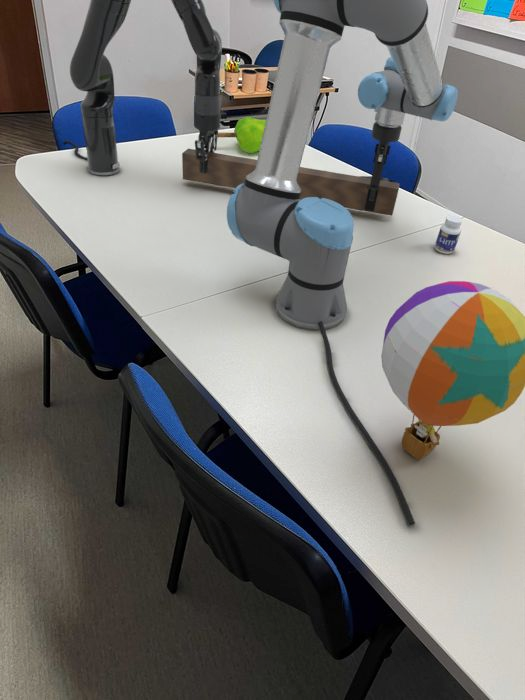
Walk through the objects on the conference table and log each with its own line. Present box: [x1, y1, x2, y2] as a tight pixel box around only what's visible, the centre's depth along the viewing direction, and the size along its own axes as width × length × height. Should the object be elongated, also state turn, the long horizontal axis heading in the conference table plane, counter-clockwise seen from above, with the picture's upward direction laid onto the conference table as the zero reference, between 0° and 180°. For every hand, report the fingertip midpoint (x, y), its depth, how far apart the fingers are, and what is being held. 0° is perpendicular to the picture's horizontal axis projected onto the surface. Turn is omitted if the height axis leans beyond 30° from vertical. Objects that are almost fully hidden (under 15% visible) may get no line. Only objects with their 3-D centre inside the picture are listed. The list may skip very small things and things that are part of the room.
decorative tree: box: [218, 116, 266, 154], centre depth 190 cm, size 18×10×30 cm
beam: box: [181, 148, 400, 217], centre depth 154 cm, size 64×5×8 cm, turn 75°
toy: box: [380, 280, 525, 461], centre depth 74 cm, size 20×20×30 cm
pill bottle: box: [434, 215, 463, 255], centre depth 137 cm, size 5×5×9 cm
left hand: (206, 169), depth 159 cm, fingers closed on beam, 5 cm apart
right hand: (370, 206), depth 153 cm, fingers closed on beam, 5 cm apart
